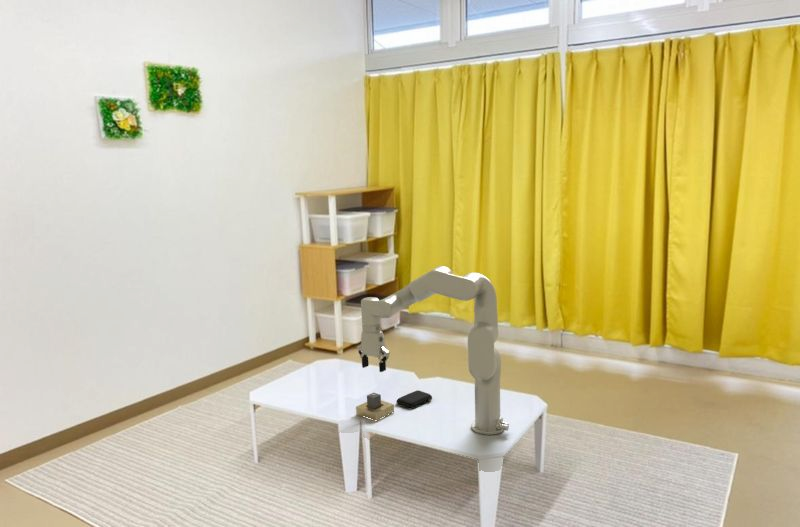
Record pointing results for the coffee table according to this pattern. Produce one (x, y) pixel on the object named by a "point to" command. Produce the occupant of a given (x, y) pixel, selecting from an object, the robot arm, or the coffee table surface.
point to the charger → (374, 400)
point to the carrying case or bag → (414, 399)
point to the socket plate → (375, 410)
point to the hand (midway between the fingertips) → (374, 368)
